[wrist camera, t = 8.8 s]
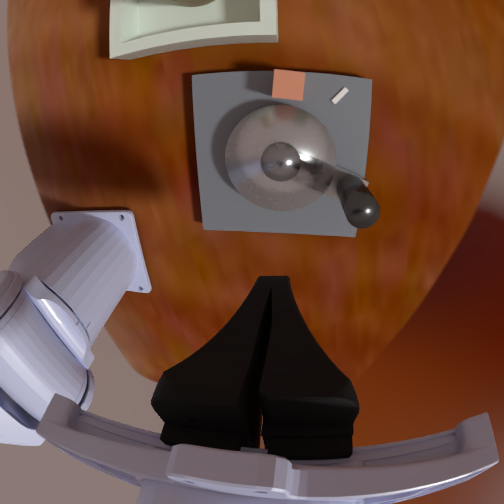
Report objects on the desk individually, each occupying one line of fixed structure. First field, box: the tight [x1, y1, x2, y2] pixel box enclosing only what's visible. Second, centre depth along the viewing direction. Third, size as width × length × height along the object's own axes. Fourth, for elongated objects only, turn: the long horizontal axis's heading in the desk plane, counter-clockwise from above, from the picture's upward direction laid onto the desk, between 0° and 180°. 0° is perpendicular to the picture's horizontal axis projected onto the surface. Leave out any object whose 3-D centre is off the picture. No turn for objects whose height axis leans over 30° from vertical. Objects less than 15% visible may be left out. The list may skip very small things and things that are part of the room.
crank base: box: [192, 69, 372, 237], centre depth 16 cm, size 10×10×2 cm
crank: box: [225, 105, 380, 228], centre depth 15 cm, size 9×6×4 cm
